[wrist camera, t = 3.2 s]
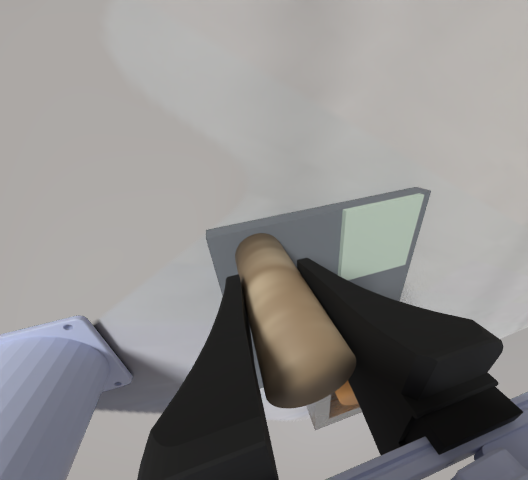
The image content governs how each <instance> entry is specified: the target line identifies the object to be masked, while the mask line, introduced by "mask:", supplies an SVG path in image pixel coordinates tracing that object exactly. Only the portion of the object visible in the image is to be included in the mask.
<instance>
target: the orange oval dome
mask: <svg viewBox="0 0 528 480" xmlns="http://www.w3.org/2000/svg"><path fill="white" fill-rule="evenodd" d="M335 394H336V396H337V398H338V400H339V402H340V403H341V404H343V405H355V404H358V401H357V399H356V397H355V395H354V393H353V390H352V388H351V386H350V384H349V382H348V380H347V382H346V383H345V384H344V385H343V386H341V387H340V388H339V389H338V390H336V391H335Z"/></svg>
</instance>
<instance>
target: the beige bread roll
mask: <svg viewBox="0 0 528 480" xmlns="http://www.w3.org/2000/svg"><path fill="white" fill-rule="evenodd" d="M235 261H236V266H237V270H238V274H239V276H240V281H241V285H242V290H243V294H244V299H245V306H246V310H247V315H248V319H249V324H250V328H251V333H252V337H253V342H254V346H255V351H256V355H257V360H258V364H259V369H260V373H261V378H262V382H263V386H264V391H265V395H266V399H267V400H268V402H269V403H270V404H272V405H274V406H276V407H280V408H297V407H302V406H306V405H309V404H312V403H315V402H317V401H319V400H321V399H324V398H325V397H327V396H329V395H331V394H332V393H334V392H335V391H336V390H338V389H339V388H340V387H341V386H343V385H344V384H345V383H346V382H347V380H348V379H349V378H350V377H351V375H352V374H353V372H354V370H355V367H356V357H355V355H354V354H353V352H352V351H351V349H350V348H349V346H348V345H347V343H346V342H345V340H344V339H343V337H342V336H341V334H340V333H339V331H338V330H337V328H336V327H335V325H334V324H333V322H332V321H331V319H330V318H329V316H328V315H327V313H326V312H325V310H324V308H323V307H322V305H321V304H320V302H319V301H318V299H317V298H316V296H315V295H314V293H313V292H312V290H311V289H310V287H309V286H308V284H307V283H306V281H305V280H304V278H303V277H302V275H301V274H300V272H299V271H298V269H297V268H296V266H295V265H294V263H293V262H292V260H291V259H290V257H289V256H288V254H287V253H286V251H285V250H284V248H283V247H282V245H281V244H280V242H279V241H278V240H277V239H276V238H275V237H274V236H272V235H270V234H266V233H258V234H253V235H251V236H249V237H247V238H245V239H244V240H243V241H242V242H241V243H240V244H239V246H238V247H237V249H236V252H235Z"/></svg>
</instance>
